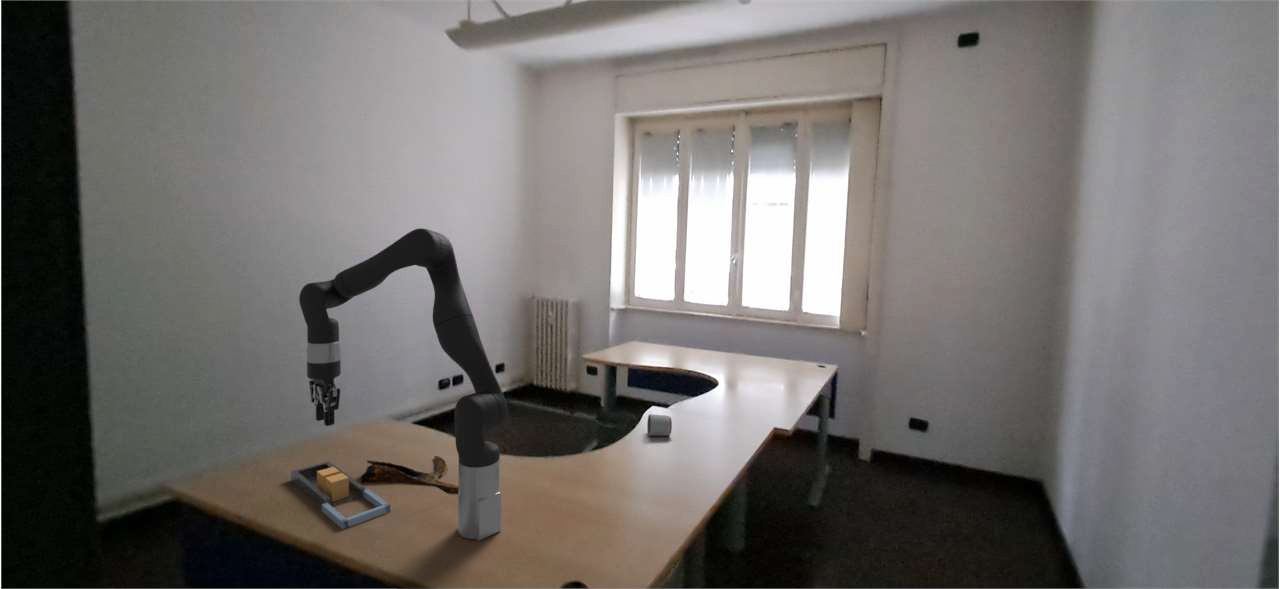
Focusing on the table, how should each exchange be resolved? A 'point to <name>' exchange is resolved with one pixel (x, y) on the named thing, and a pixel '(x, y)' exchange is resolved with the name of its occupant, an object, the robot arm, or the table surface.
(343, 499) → the rail
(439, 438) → the table surface
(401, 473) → the dark wooden branch
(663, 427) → the grey cylinder
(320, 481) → the tan cardboard cube
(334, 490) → the cardboard box
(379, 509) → the tray
